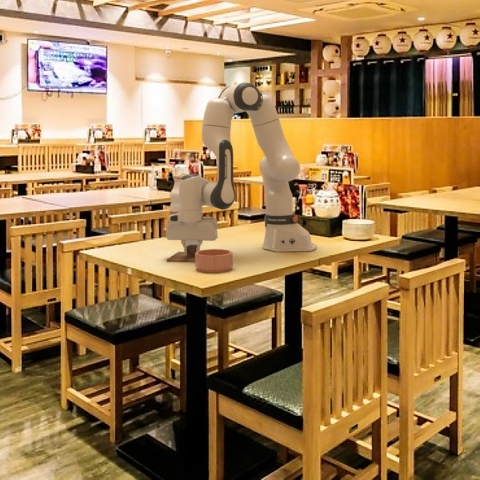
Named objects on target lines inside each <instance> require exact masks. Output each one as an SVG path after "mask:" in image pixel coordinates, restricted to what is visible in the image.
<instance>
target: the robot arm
mask: <svg viewBox="0 0 480 480" xmlns="http://www.w3.org/2000/svg"><path fill="white" fill-rule="evenodd" d="M245 112H246V114H248V116H249V118H250V121H251V125H252V129H253V132H254V135H255V139H256V143H257V144H258V146H259V148H260V149H261V150H262V152H263V155H264V156H263V157H262V158H261V159H260V161H259V167H258V169H259V171H260V173H261V177H262V182H263V187H264V193H265V214H264V227H265V233H264V240H263V242H262V243H263V244H262V249H264V250H267V251H272V252H280V253H281V252H312V251H315V250H317V244H316V243H314V242H313V243H312V237H311V234H310V232H309V231H308V230H307V229H305V228H304V227H303V226H301V225H300V224H299V222H298V218H299V217H298V215H296V214H294V212H293V210H294V209H293V206H294V205H293V200H294V199H293V193H292V191H291V189H290V184H289V182H291V181H293V180H295V179H296V178H298V176H299V175H300V172H301V165H300V163H299V161H298V159H297V158H296V157H295V156H294V154H293V151H292V149H291V147H290V145H289V143H288V142H287V139H286V137H285V133H284V132H283V128H282V124H281V121H280V117H279V115H278V112H277V108H276V107H275V104H274V102H273V100H272V98H271V97H270V95H268V94H265V93H262V92H260V90H259V88H258V86H256V85H255V84H253V83H251V82H245V81H244V82H240V83H235V84H232V85H230V86H227V87H225V88H223V90H222V91H221V92H220V93H219V95H218V97H216V98H215V97H214V98H212V99H210V100H209V101H208V102H207V104H206V107H205V111H204V114H203V117H202V118H203V120H202V125H201V126H202V127H201V141H202V144H203V145H204V146H205V147H206V148H207V149H208V150H209V151H211V152H212V153H213V154H214V156H215V157H216V162H217V164H216V165H217V167H216V171H217V172H216V176H217V177H216V182H215V181H210V180H208V179H206V178H204V177H202V176H201V175H200V174H199V173H189V174H184V175H182V176H183V177H182V178H181V179H180V183H179V199H180V208H179V210H180V212H179V213H178V212H177V213H175V214H172V215H170V214H169V215H168V216H167V224H166V225H165V226H166V227H165V239H166V240H168V241H180V243H181V245H182V247H183V252H187V246H186V244H185V242H186V240H198V243H199V245H198V246H197V247H195V252H197V251H201V246H202V244H203V241H205V242H206V241H211V242H212V241H213V242H214V241H216V240H217V239H218V219H217V218H215V217H214V216H203V206H207V207H211V208H216V209H219V210H221V211H222V210H228V209H229V208H230V207H232V206H233V204H234V203H235V200H236V189H235V185H234V184H235V183H234V148H233V144H232V141H231V130H232V129H231V127H232V120H233V116H234V114H236V113H237V114H238V113H245Z"/></svg>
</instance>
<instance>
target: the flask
mask: <svg viewBox="0 0 480 480" xmlns="http://www.w3.org/2000/svg"><path fill="white" fill-rule="evenodd" d="M185 244H186V246H189V245H197V247H198V245H199V243H198V240H186V242H185Z"/></svg>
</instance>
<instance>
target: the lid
mask: <svg viewBox="0 0 480 480" xmlns="http://www.w3.org/2000/svg"><path fill="white" fill-rule="evenodd" d="M195 247H198V246H197V245H189V246H187V252H185V251H177V252H176V253H174V254H173V255H171V256H170V257H168V258H166V263H192V264H193V263H195V253H196V252H195Z"/></svg>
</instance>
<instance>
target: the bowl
mask: <svg viewBox="0 0 480 480" xmlns="http://www.w3.org/2000/svg"><path fill="white" fill-rule="evenodd" d="M233 254H234V253H233V251H232V250H230V249H223V248H210V249H209V248H207V249H200V251H197V252H196V253H195V265H194V267H195V268H196V271H197V272H200V273H206V274H207V273H210V274H211V273H223V272H228V271H231V270H232V267H233V265H234V262H233V257H234V256H233Z"/></svg>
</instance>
